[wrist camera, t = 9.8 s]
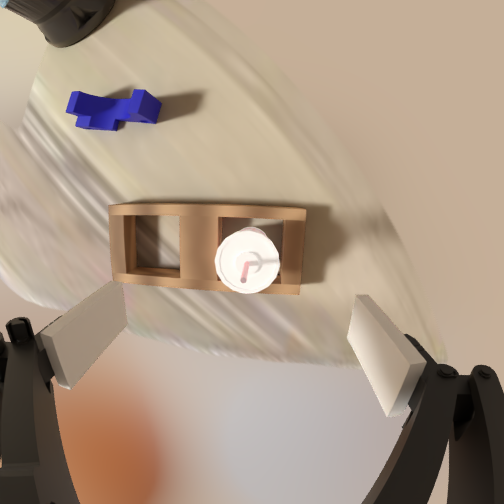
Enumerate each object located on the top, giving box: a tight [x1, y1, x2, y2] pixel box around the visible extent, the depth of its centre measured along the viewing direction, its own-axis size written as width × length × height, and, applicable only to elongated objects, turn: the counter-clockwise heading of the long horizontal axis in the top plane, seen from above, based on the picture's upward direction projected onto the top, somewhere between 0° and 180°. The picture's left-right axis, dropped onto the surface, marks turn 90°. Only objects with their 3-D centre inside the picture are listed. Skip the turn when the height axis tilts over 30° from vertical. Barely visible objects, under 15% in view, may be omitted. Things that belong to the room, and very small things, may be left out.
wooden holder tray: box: [109, 203, 306, 295], centre depth 33 cm, size 24×10×4 cm, turn 88°
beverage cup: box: [215, 227, 280, 294], centre depth 27 cm, size 6×6×14 cm
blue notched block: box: [66, 89, 162, 131], centre depth 28 cm, size 12×4×6 cm, turn 77°
